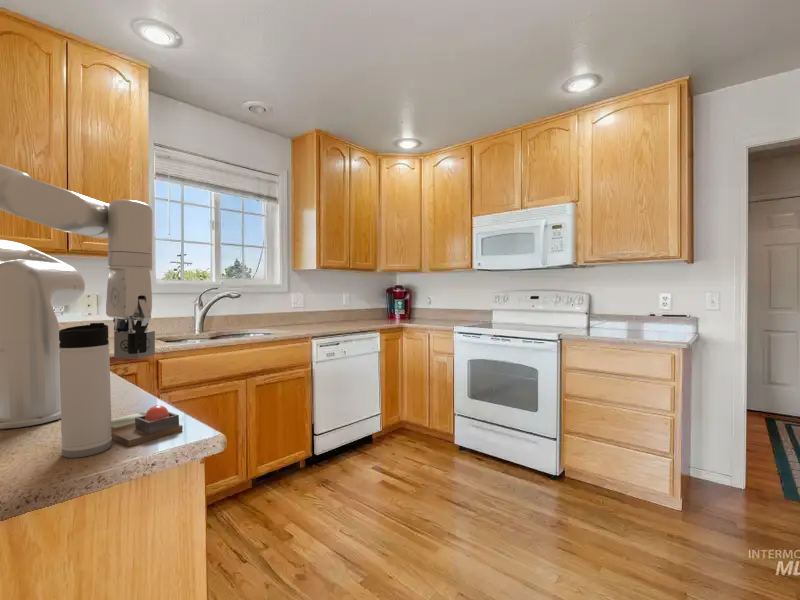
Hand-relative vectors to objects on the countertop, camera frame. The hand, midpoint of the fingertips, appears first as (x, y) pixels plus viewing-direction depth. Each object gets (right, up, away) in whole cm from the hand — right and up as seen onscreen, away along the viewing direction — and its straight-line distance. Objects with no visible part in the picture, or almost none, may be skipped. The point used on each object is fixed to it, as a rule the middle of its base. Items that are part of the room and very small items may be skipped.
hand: (130, 350), depth 83 cm
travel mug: (+6, -14, -18) cm, 24 cm away
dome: (+12, -12, -11) cm, 20 cm away
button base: (+7, -13, -9) cm, 18 cm away
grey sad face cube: (0, -1, +1) cm, 2 cm away
